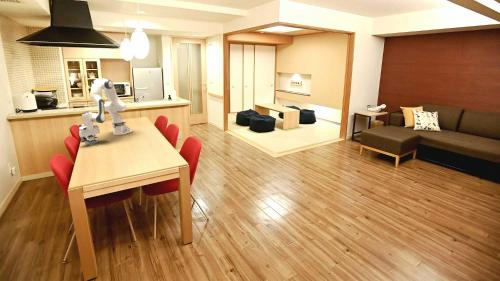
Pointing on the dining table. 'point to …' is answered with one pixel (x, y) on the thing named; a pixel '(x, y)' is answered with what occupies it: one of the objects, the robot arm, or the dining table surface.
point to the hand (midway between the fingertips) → (91, 139)
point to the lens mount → (91, 142)
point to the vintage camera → (84, 137)
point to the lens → (91, 138)
